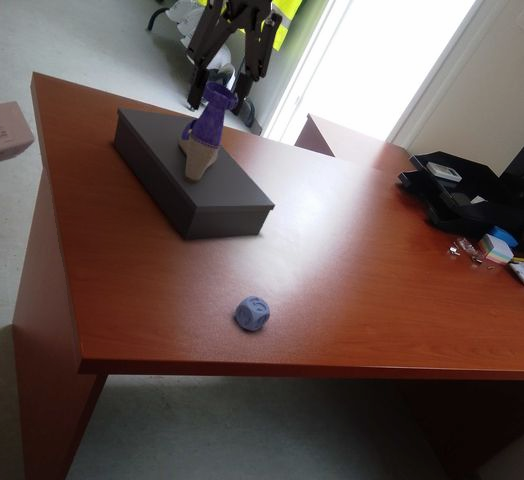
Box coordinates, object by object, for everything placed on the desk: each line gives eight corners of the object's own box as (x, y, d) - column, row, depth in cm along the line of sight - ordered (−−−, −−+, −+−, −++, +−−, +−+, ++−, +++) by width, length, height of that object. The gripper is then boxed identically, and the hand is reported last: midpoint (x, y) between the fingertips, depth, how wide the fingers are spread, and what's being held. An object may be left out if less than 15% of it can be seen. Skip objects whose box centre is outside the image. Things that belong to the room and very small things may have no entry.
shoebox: (111, 143, 93) (117, 107, 88) (187, 149, 105) (196, 118, 100) (184, 241, 82) (197, 206, 77) (260, 235, 94) (275, 205, 89)
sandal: (221, 148, 95) (249, 74, 85) (204, 190, 81) (234, 107, 71) (184, 130, 94) (208, 53, 84) (160, 170, 79) (185, 83, 69)
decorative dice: (248, 310, 76) (258, 293, 74) (263, 327, 75) (274, 310, 73) (231, 316, 74) (241, 299, 71) (247, 333, 73) (257, 316, 70)
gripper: (220, -57, 59) (173, 113, 74) (324, -10, 73) (267, 126, 88) (191, -80, 62) (151, 89, 77) (297, -30, 76) (246, 105, 91)
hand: (213, 109), depth 82 cm, fingers open, 8 cm apart
